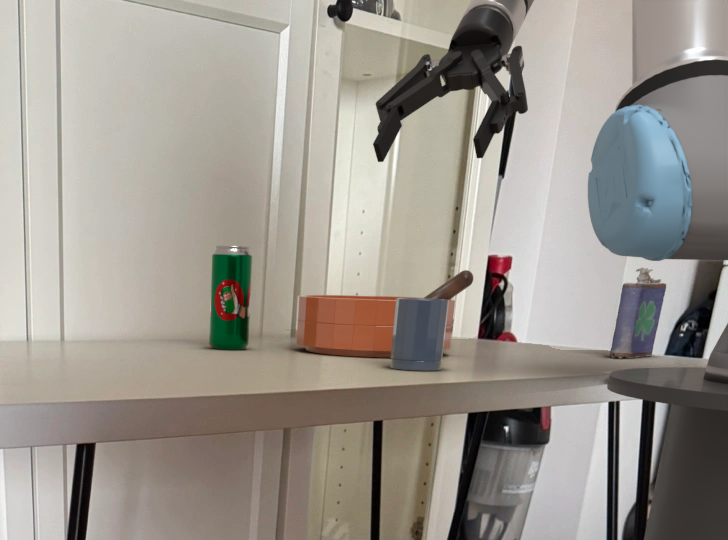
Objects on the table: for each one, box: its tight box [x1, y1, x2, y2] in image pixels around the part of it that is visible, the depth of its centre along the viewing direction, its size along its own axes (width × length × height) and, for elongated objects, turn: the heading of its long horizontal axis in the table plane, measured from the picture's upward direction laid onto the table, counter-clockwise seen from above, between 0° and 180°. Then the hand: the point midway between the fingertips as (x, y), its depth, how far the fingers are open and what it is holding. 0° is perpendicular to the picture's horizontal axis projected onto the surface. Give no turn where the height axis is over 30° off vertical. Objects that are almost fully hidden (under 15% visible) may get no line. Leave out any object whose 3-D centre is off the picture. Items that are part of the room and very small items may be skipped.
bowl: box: [294, 294, 457, 359], centre depth 131 cm, size 20×20×6 cm
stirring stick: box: [423, 269, 474, 300], centre depth 129 cm, size 2×2×14 cm
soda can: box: [208, 245, 253, 351], centre depth 130 cm, size 5×5×12 cm
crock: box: [389, 297, 449, 372], centre depth 110 cm, size 5×6×7 cm
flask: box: [609, 267, 667, 359], centre depth 133 cm, size 9×3×11 cm, turn 132°
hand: (426, 151), depth 130 cm, fingers open, 13 cm apart
